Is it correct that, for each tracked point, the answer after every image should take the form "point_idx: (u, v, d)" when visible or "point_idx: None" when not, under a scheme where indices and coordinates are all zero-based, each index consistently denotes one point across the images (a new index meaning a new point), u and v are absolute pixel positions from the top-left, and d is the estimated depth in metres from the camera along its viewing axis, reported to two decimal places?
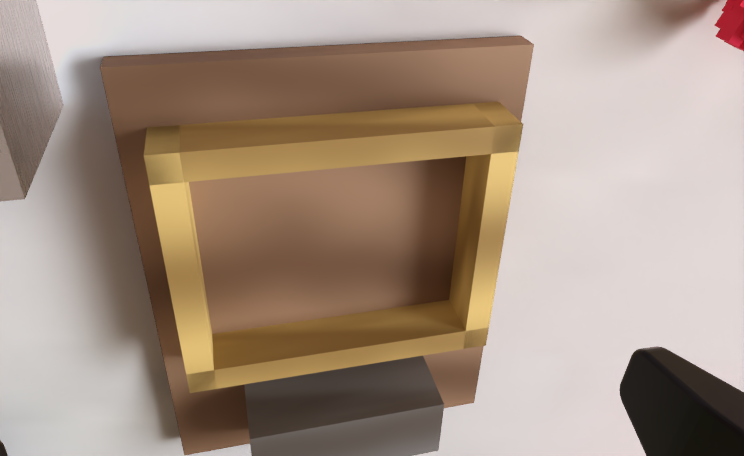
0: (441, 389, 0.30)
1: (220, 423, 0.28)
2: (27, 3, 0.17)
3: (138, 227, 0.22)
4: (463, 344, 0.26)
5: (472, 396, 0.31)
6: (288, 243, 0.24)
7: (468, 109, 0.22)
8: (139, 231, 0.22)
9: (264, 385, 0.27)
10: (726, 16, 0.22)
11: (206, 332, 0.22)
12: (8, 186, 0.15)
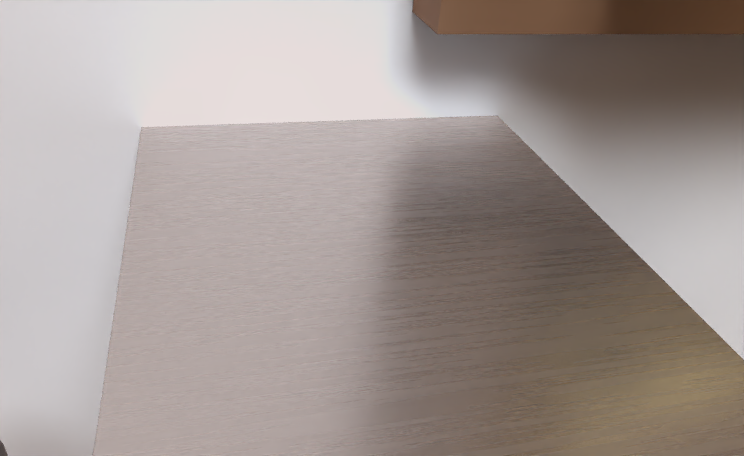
0: None
1: None
2: (275, 157, 0.08)
3: None
4: None
5: None
6: None
7: None
8: None
9: None
10: None
11: None
12: None
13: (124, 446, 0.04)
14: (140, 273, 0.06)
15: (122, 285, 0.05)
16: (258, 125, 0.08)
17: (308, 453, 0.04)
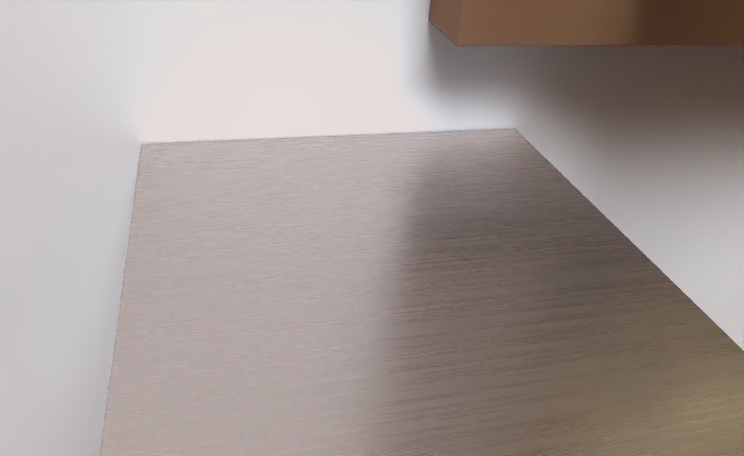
0: None
1: None
2: (285, 180, 0.07)
3: None
4: None
5: None
6: None
7: None
8: None
9: None
10: None
11: None
12: None
13: None
14: (141, 316, 0.05)
15: (120, 331, 0.05)
16: (265, 143, 0.08)
17: None
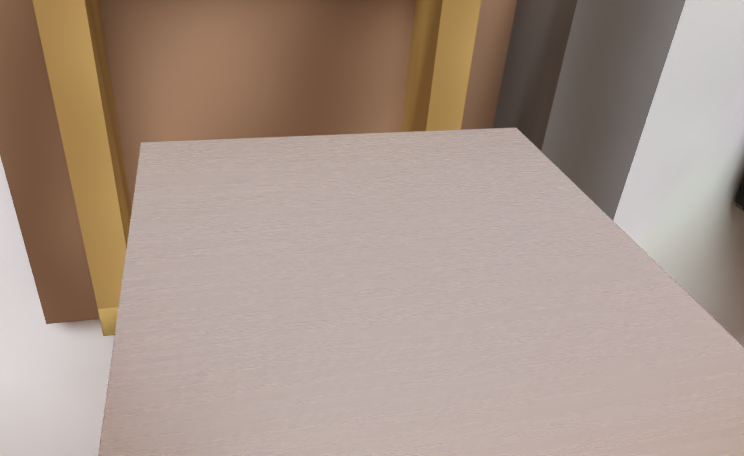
0: None
1: None
2: (285, 179, 0.07)
3: None
4: None
5: None
6: None
7: None
8: None
9: None
10: None
11: None
12: None
13: None
14: (140, 315, 0.05)
15: (119, 330, 0.05)
16: (265, 142, 0.08)
17: None
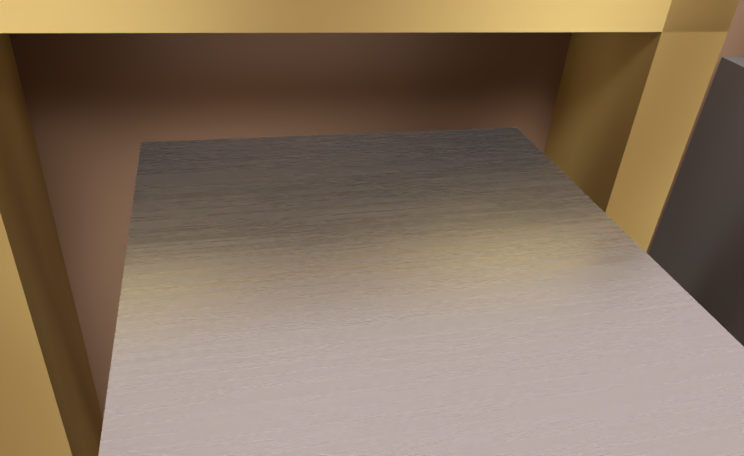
0: None
1: None
2: (285, 178, 0.07)
3: None
4: (712, 33, 0.08)
5: None
6: None
7: None
8: None
9: None
10: None
11: None
12: None
13: None
14: (140, 314, 0.05)
15: (120, 330, 0.05)
16: (265, 142, 0.08)
17: None
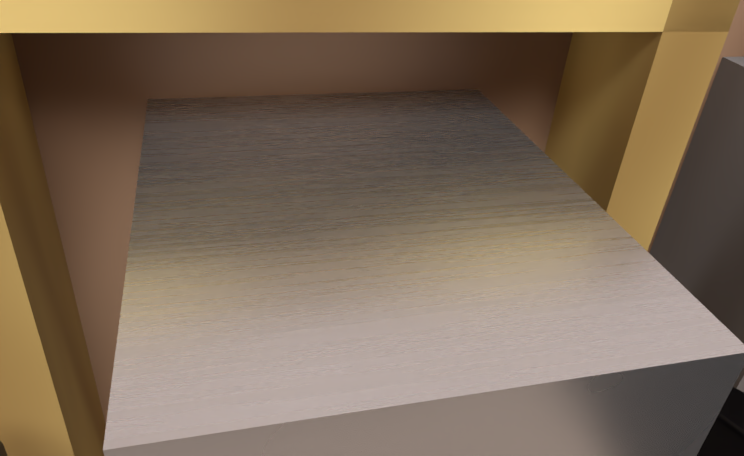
0: None
1: None
2: (271, 126, 0.08)
3: None
4: (712, 33, 0.08)
5: None
6: None
7: None
8: None
9: None
10: None
11: None
12: (702, 380, 0.05)
13: (141, 352, 0.05)
14: (150, 221, 0.06)
15: (134, 231, 0.06)
16: (256, 99, 0.09)
17: (299, 357, 0.05)
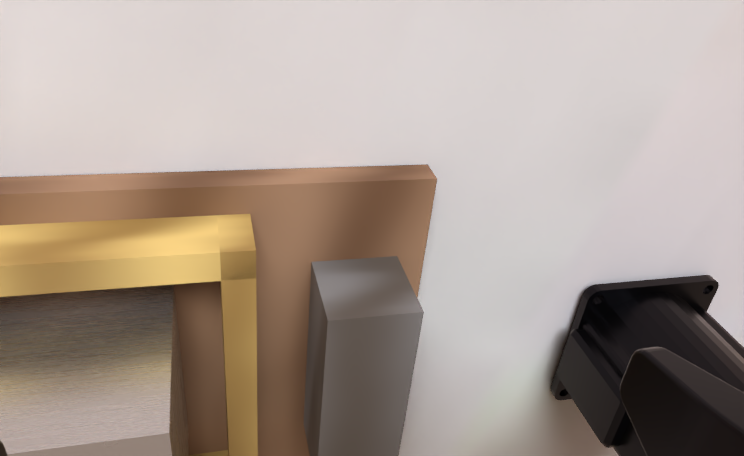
0: (390, 228, 0.21)
1: None
2: (51, 315, 0.18)
3: None
4: (247, 279, 0.18)
5: (422, 182, 0.20)
6: None
7: None
8: None
9: (305, 416, 0.25)
10: None
11: None
12: (153, 442, 0.15)
13: None
14: None
15: None
16: (53, 295, 0.19)
17: (8, 434, 0.15)
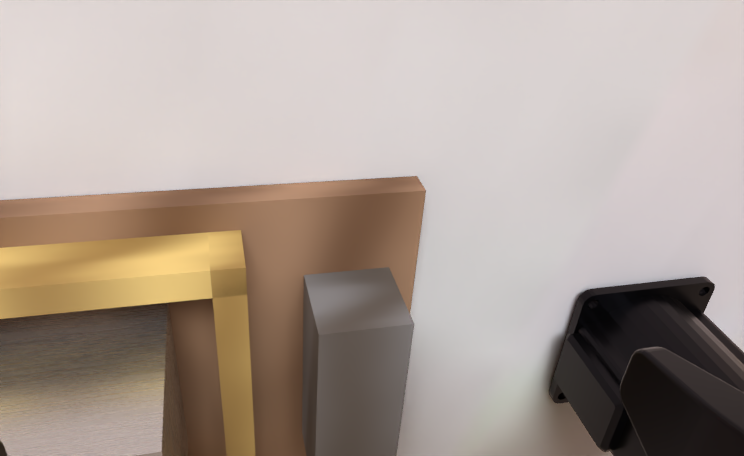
0: (380, 240, 0.21)
1: None
2: (47, 335, 0.19)
3: None
4: (238, 295, 0.19)
5: (411, 195, 0.21)
6: None
7: None
8: None
9: (303, 425, 0.25)
10: None
11: None
12: None
13: None
14: None
15: None
16: (49, 314, 0.20)
17: None
